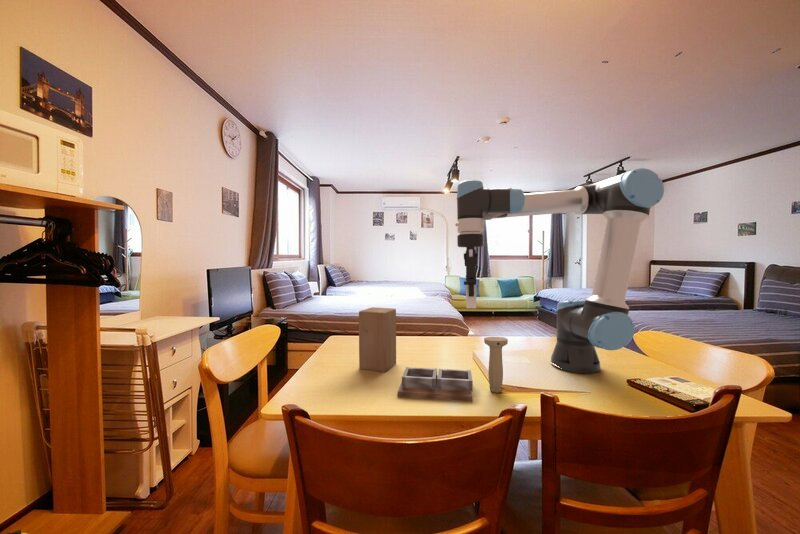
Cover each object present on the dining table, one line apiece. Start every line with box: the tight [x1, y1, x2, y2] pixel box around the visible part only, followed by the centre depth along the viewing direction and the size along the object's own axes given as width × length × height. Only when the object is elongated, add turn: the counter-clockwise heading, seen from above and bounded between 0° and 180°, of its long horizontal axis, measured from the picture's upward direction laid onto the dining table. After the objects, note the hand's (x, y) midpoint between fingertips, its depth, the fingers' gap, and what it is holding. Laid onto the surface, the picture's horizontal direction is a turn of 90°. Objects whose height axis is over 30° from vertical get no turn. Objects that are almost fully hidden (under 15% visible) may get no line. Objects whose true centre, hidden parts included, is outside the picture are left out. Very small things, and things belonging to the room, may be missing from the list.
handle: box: [483, 336, 509, 394], centre depth 93 cm, size 5×6×15 cm
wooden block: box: [358, 307, 397, 373], centre depth 115 cm, size 10×10×20 cm
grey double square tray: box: [397, 366, 474, 403], centre depth 95 cm, size 20×14×4 cm
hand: (470, 304), depth 98 cm, fingers open, 13 cm apart
